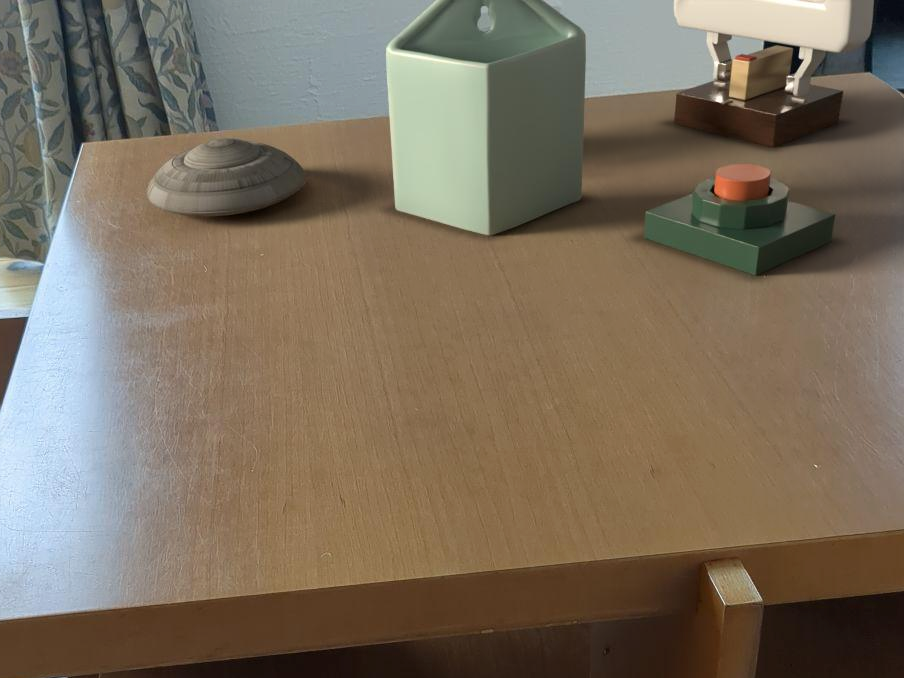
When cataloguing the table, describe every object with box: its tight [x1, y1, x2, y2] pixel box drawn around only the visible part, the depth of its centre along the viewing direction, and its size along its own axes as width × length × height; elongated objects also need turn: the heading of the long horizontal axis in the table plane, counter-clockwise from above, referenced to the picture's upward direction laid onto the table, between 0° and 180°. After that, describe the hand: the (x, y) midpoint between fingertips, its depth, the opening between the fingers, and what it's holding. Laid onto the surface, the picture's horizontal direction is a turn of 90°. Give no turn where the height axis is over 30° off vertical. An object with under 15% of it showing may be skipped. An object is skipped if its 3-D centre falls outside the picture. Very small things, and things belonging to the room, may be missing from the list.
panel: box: [673, 80, 844, 148], centre depth 113 cm, size 12×11×3 cm
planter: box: [385, 0, 587, 237], centre depth 93 cm, size 16×8×20 cm, turn 87°
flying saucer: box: [145, 137, 308, 217], centre depth 106 cm, size 15×15×6 cm
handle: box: [729, 44, 794, 100], centre depth 111 cm, size 6×2×4 cm, turn 126°
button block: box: [643, 176, 836, 276], centre depth 90 cm, size 11×9×4 cm
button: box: [714, 163, 772, 201], centre depth 88 cm, size 4×4×2 cm
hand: (759, 87), depth 112 cm, fingers open, 7 cm apart
